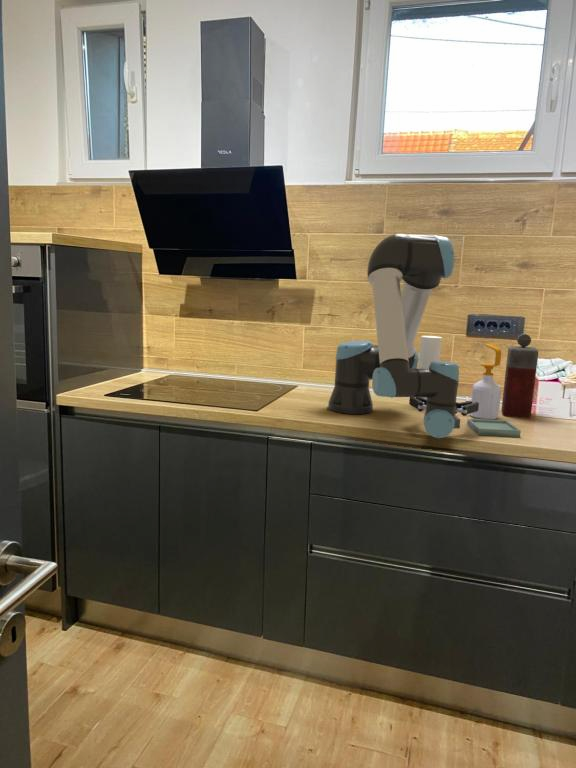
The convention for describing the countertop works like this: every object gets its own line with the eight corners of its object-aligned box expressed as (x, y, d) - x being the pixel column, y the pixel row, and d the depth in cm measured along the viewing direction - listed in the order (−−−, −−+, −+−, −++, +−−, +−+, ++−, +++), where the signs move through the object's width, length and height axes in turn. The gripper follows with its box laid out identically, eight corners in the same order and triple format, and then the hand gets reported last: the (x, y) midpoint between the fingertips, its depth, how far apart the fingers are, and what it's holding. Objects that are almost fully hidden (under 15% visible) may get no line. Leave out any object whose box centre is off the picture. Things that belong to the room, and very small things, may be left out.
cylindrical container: (419, 402, 210) (424, 335, 206) (438, 405, 207) (444, 337, 202) (412, 406, 204) (418, 336, 199) (432, 409, 200) (438, 338, 196)
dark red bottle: (527, 411, 202) (537, 333, 197) (530, 418, 192) (540, 335, 187) (501, 409, 205) (509, 331, 200) (502, 415, 194) (511, 334, 189)
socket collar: (429, 425, 176) (430, 418, 176) (423, 418, 185) (424, 411, 185) (459, 427, 176) (460, 419, 176) (452, 420, 185) (452, 412, 185)
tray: (478, 435, 168) (478, 428, 167) (467, 424, 180) (467, 418, 179) (520, 437, 167) (520, 430, 167) (505, 426, 179) (506, 420, 179)
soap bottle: (475, 412, 198) (482, 342, 194) (501, 416, 193) (509, 344, 188) (465, 416, 191) (472, 343, 187) (492, 421, 186) (500, 346, 181)
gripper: (395, 420, 164) (403, 406, 183) (486, 431, 156) (484, 414, 176) (397, 395, 162) (405, 383, 182) (489, 404, 155) (487, 390, 175)
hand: (444, 398), depth 179 cm, fingers open, 13 cm apart
